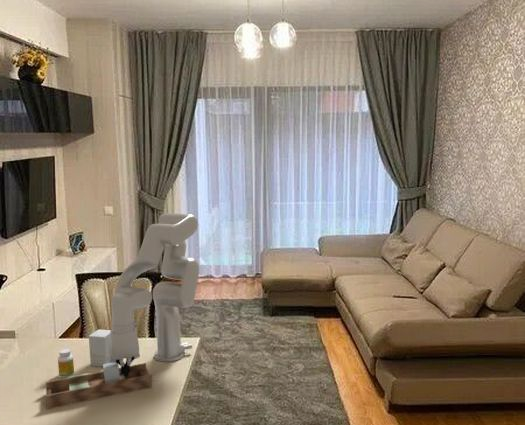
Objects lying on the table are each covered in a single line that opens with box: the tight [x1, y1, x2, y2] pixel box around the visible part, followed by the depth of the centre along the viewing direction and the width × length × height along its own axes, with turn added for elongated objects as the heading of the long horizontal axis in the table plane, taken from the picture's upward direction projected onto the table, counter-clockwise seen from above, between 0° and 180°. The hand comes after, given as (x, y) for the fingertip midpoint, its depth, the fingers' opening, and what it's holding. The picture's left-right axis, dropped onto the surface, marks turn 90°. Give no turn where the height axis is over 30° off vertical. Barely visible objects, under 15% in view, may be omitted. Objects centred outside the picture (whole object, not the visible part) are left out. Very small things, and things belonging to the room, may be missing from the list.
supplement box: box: [88, 329, 112, 368], centre depth 194 cm, size 7×7×13 cm
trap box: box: [45, 362, 153, 410], centre depth 172 cm, size 35×11×5 cm, turn 114°
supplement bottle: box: [57, 348, 75, 379], centre depth 184 cm, size 5×5×10 cm
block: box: [102, 363, 120, 383], centre depth 173 cm, size 5×5×6 cm
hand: (125, 374), depth 176 cm, fingers closed
